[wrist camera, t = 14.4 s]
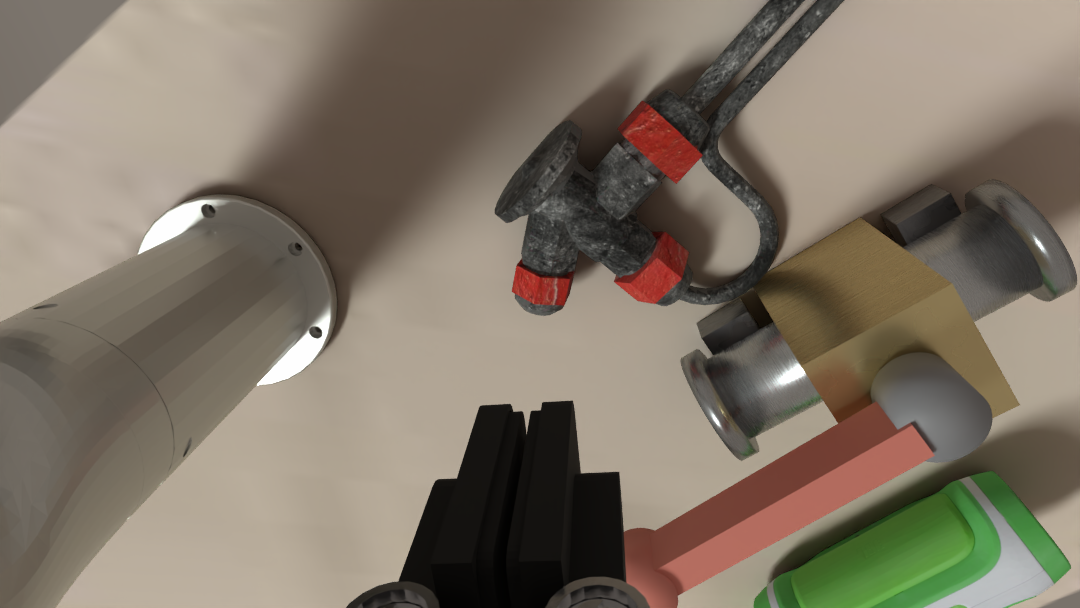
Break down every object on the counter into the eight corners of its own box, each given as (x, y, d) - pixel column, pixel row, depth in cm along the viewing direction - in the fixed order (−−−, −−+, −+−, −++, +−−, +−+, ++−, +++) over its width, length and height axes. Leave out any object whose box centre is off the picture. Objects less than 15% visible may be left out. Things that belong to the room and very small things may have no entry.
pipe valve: (729, 411, 44) (768, 525, 34) (671, 329, 42) (694, 424, 32) (1006, 261, 39) (1149, 342, 29) (953, 161, 37) (1086, 210, 27)
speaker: (795, 631, 51) (827, 726, 44) (738, 569, 49) (761, 658, 42) (1024, 515, 46) (1100, 602, 39) (969, 441, 44) (1039, 518, 37)
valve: (628, 367, 46) (452, 232, 41) (947, 59, 39) (778, -151, 34) (648, 422, 40) (446, 272, 35) (1026, 73, 33) (837, -177, 28)
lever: (595, 538, 35) (595, 591, 32) (930, 337, 29) (971, 375, 26) (638, 582, 36) (642, 638, 32) (971, 395, 30) (1016, 439, 27)
